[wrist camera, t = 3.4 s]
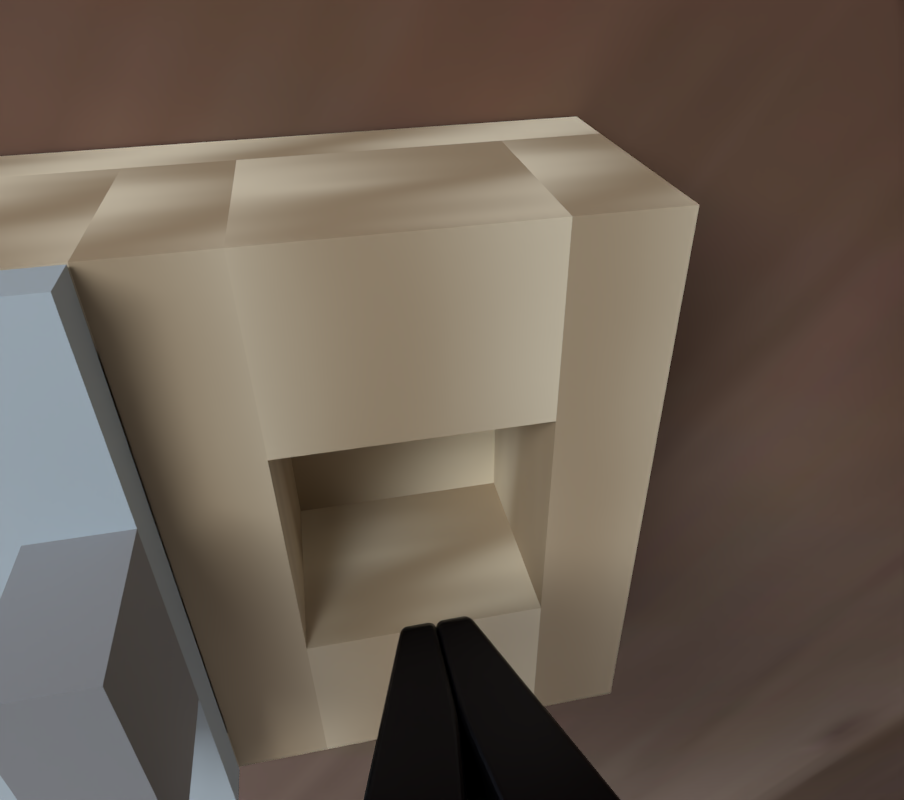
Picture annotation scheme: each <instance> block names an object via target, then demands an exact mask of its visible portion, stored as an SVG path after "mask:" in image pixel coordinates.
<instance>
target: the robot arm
mask: <svg viewBox="0 0 904 800" xmlns="http://www.w3.org/2000/svg"><path fill="white" fill-rule="evenodd" d="M364 800H620V799H619V797H618V796H617V795H616V794H615V793H614V791H613V790H612V789H611V788H610V787H609V785H608V784H607V783H606V782H605V780H604V779H603V778H602V777H601V776H600V774H599V773H598V772H597V771H596V769H595V768H594V767H593V766H592V765H591V763H590V762H589V761H588V760H587V758H586V757H585V756H584V755H583V754H582V752H581V751H580V750H579V749H578V747H577V746H576V745H575V744H574V743H573V741H572V740H571V739H570V738H569V736H568V735H567V734H566V733H565V732H564V730H563V729H562V728H561V727H560V725H559V724H558V723H557V722H556V721H555V719H554V718H553V717H552V716H551V714H550V713H549V712H548V711H547V710H546V708H545V707H544V706H543V705H542V703H541V702H540V701H539V700H538V699H537V697H536V696H535V695H534V694H533V692H532V691H531V690H530V689H529V688H528V686H527V685H526V684H525V683H524V681H523V680H522V679H521V678H520V677H519V675H518V674H517V673H516V672H515V670H514V669H513V668H512V667H511V666H510V664H509V663H508V662H507V661H506V659H505V658H504V657H503V656H502V655H501V653H500V652H499V651H498V650H497V648H496V647H495V646H494V645H493V644H492V642H491V641H490V640H489V639H488V637H487V636H486V635H485V634H484V633H483V631H482V630H481V629H480V628H479V626H478V625H477V624H476V623H475V622H474V621H473V620H472V619H471V618H470V617H467V616H462V617H456V618H451V619H445V620H441V621H439V622H438V623H437V625H436V626H435V625H434V624H433V623H423V624H418V625H412V626H407V627H404V628H403V629H402V630H401V632H400V635H399V640H398V644H397V649H396V654H395V658H394V663H393V667H392V672H391V677H390V681H389V686H388V690H387V695H386V700H385V704H384V709H383V713H382V718H381V723H380V727H379V732H378V736H377V741H376V746H375V750H374V755H373V759H372V764H371V769H370V773H369V778H368V782H367V787H366V791H365V796H364Z"/></svg>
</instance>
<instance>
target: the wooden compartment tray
mask: <svg viewBox="0 0 904 800" xmlns="http://www.w3.org/2000/svg"><path fill="white" fill-rule="evenodd" d="M698 210H699V204H698V203H696V202H695V201H693V200H692V199H691V198H689V197H688V196H686V195H685V194H684V193H682V192H681V191H679V190H678V189H677V188H675V187H674V186H672V185H671V184H670V183H668V182H667V181H665V180H664V179H663V178H661V177H660V176H659V175H657V174H656V173H654V172H653V171H652V170H650V169H649V168H647V167H646V166H645V165H643V164H642V163H640V162H639V161H638V160H636V159H635V158H633V157H632V156H631V155H629V154H628V153H626V152H625V151H624V150H622V149H621V148H620V147H618V146H617V145H615V144H614V143H613V142H611V141H610V140H608V139H607V138H606V137H604V136H603V135H601V134H600V133H599V132H597V131H596V130H594V129H593V128H592V127H590V126H589V125H587V124H586V123H585V122H583V121H582V120H581V119H579V118H578V117H563V118H549V119H534V120H520V121H505V122H491V123H476V124H462V125H447V126H432V127H418V128H403V129H389V130H374V131H360V132H345V133H331V134H316V135H302V136H287V137H273V138H258V139H244V140H229V141H215V142H200V143H186V144H171V145H157V146H142V147H128V148H113V149H99V150H84V151H70V152H55V153H41V154H26V155H12V156H0V270H10V269H21V268H32V267H43V266H54V265H65V264H66V265H67V268H68V271H69V274H70V277H71V280H72V282H73V285H74V288H75V291H76V294H77V297H78V300H79V303H80V306H81V309H82V312H83V315H84V317H85V320H86V323H87V326H88V329H89V332H90V335H91V338H92V341H93V344H94V347H95V350H96V352H97V355H98V358H99V361H100V364H101V367H102V370H103V373H104V376H105V379H106V382H107V385H108V387H109V390H110V393H111V396H112V399H113V402H114V405H115V408H116V411H117V414H118V417H119V420H120V422H121V425H122V428H123V431H124V434H125V437H126V440H127V443H128V446H129V449H130V452H131V455H132V457H133V460H134V463H135V466H136V469H137V472H138V475H139V478H140V481H141V484H142V487H143V490H144V492H145V495H146V498H147V501H148V504H149V507H150V510H151V513H152V516H153V519H154V522H155V525H156V527H157V530H158V533H159V536H160V539H161V542H162V545H163V548H164V551H165V554H166V557H167V560H168V562H169V565H170V568H171V571H172V574H173V577H174V580H175V583H176V586H177V589H178V592H179V595H180V597H181V600H182V603H183V606H184V609H185V612H186V615H187V618H188V621H189V624H190V627H191V630H192V632H193V635H194V638H195V641H196V644H197V647H198V650H199V653H200V656H201V659H202V662H203V665H204V667H205V670H206V673H207V676H208V679H209V682H210V685H211V688H212V691H213V694H214V697H215V700H216V702H217V705H218V708H219V711H220V714H221V717H222V720H223V723H224V726H225V729H226V732H227V735H228V737H229V740H230V743H231V746H232V749H233V752H234V755H235V758H236V761H237V764H238V767H240V766H245V765H250V764H255V763H260V762H265V761H270V760H275V759H280V758H285V757H290V756H296V755H301V754H306V753H311V752H316V751H321V750H326V749H331V748H336V747H341V746H346V745H351V744H356V743H361V742H366V741H371V740H376V739H377V736H378V732H379V727H380V723H381V718H382V713H383V709H384V704H385V700H386V695H387V690H388V686H389V681H390V677H391V672H392V667H393V663H394V658H395V654H396V649H397V644H398V640H399V635H400V632H401V630H402V629H403V628H404V627H407V626H412V625H418V624H423V623H433V624H434V625H435V626H436V625H437V623H438V622H439V621H441V620H445V619H451V618H456V617H462V616H467V617H470V618H471V619H472V620H473V621H474V622H475V623H476V624H477V625H478V626H479V628H480V629H481V630H482V631H483V633H484V634H485V635H486V636H487V637H488V639H489V640H490V641H491V642H492V644H493V645H494V646H495V647H496V648H497V650H498V651H499V652H500V653H501V655H502V656H503V657H504V658H505V659H506V661H507V662H508V663H509V664H510V666H511V667H512V668H513V669H514V670H515V672H516V673H517V674H518V675H519V677H520V678H521V679H522V680H523V681H524V683H525V684H526V685H527V686H528V688H529V689H530V690H531V691H532V692H533V694H534V695H535V696H536V697H537V699H538V700H539V701H540V702H541V703H542V705H543V706H548V705H553V704H559V703H564V702H569V701H574V700H579V699H584V698H589V697H594V696H599V695H604V694H609V693H611V688H612V682H613V677H614V671H615V666H616V660H617V655H618V649H619V644H620V638H621V633H622V627H623V622H624V616H625V611H626V605H627V600H628V594H629V589H630V583H631V578H632V572H633V567H634V561H635V556H636V550H637V545H638V539H639V534H640V528H641V523H642V517H643V512H644V506H645V501H646V495H647V490H648V484H649V479H650V473H651V468H652V462H653V457H654V451H655V446H656V440H657V435H658V430H659V424H660V419H661V413H662V408H663V402H664V397H665V391H666V386H667V380H668V375H669V369H670V364H671V358H672V353H673V347H674V342H675V336H676V331H677V325H678V320H679V314H680V309H681V303H682V298H683V292H684V287H685V281H686V276H687V270H688V265H689V259H690V254H691V248H692V243H693V237H694V232H695V226H696V221H697V215H698Z"/></svg>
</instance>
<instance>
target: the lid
mask: <svg viewBox="0 0 904 800" xmlns="http://www.w3.org/2000/svg"><path fill="white" fill-rule="evenodd" d="M238 794H239V767H238V764H237V761H236V758H235V755H234V752H233V749H232V746H231V743H230V740H229V737H228V735H227V732H226V729H225V726H224V723H223V720H222V717H221V714H220V711H219V708H218V705H217V702H216V700H215V697H214V694H213V691H212V688H211V685H210V682H209V679H208V676H207V673H206V670H205V667H204V665H203V662H202V659H201V656H200V653H199V650H198V647H197V644H196V641H195V638H194V635H193V632H192V630H191V627H190V624H189V621H188V618H187V615H186V612H185V609H184V606H183V603H182V600H181V597H180V595H179V592H178V589H177V586H176V583H175V580H174V577H173V574H172V571H171V568H170V565H169V562H168V560H167V557H166V554H165V551H164V548H163V545H162V542H161V539H160V536H159V533H158V530H157V527H156V525H155V522H154V519H153V516H152V513H151V510H150V507H149V504H148V501H147V498H146V495H145V492H144V490H143V487H142V484H141V481H140V478H139V475H138V472H137V469H136V466H135V463H134V460H133V457H132V455H131V452H130V449H129V446H128V443H127V440H126V437H125V434H124V431H123V428H122V425H121V422H120V420H119V417H118V414H117V411H116V408H115V405H114V402H113V399H112V396H111V393H110V390H109V387H108V385H107V382H106V379H105V376H104V373H103V370H102V367H101V364H100V361H99V358H98V355H97V352H96V350H95V347H94V344H93V341H92V338H91V335H90V332H89V329H88V326H87V323H86V320H85V317H84V315H83V312H82V309H81V306H80V303H79V300H78V297H77V294H76V291H75V288H74V285H73V282H72V280H71V277H70V274H69V271H68V268H67V265H66V264H65V265H54V266H43V267H32V268H21V269H10V270H0V800H238Z"/></svg>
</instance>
